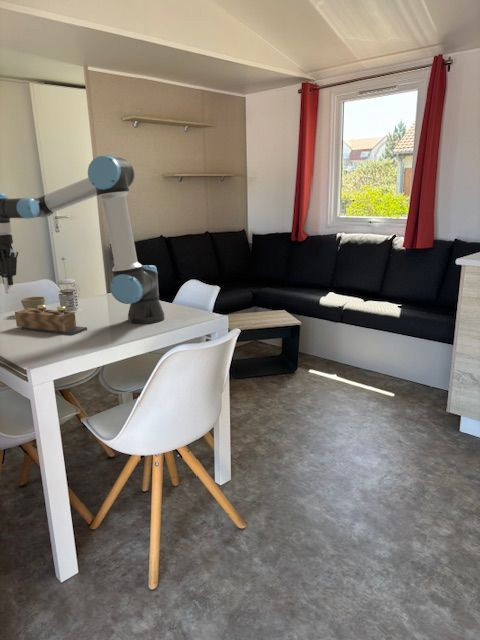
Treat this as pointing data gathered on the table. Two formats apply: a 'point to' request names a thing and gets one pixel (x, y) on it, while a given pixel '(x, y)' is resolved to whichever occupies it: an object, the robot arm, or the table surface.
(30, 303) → the flower pot
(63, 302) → the french press
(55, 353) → the table surface
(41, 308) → the rail
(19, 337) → the table surface
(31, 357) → the table surface
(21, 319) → the wooden compartment box
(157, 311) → the robot arm
